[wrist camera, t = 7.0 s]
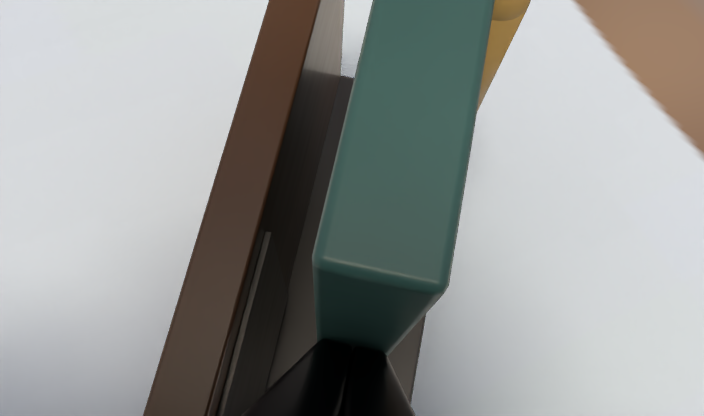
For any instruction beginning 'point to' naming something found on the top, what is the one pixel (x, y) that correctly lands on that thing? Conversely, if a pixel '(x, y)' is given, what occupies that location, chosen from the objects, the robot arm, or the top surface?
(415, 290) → the sliding door
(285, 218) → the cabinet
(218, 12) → the top surface
